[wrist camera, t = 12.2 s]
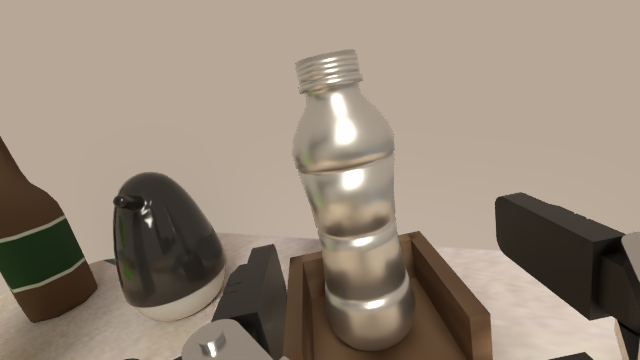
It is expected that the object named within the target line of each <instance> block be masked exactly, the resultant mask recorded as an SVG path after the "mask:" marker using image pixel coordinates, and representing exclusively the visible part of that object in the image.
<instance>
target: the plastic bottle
mask: <svg viewBox="0 0 640 360" xmlns="http://www.w3.org/2000/svg"><path fill="white" fill-rule="evenodd" d="M295 64H296V71H297V75H298V80H299V84H300V87H299V92H300V94H305V95H306V107H305V109H304V112H303V114H302V116H301V119H300V121H299V123H298V126H297V129H296V132H295V136H294V139H293V151H292V155H293V158H294V161H295V165H296V168H297V169H298V173H299V176H300V179H301V181H302V184H303V187H304V189H305V192H306V195H307V197H308V200H309V203H310V205H311V209H312V212H313V216H314V220H315V224H316V227H317V228H318V234H319V239H320V242H321V249H322V257H323V265H324V273H325V305H326V313H327V317H328V319H329V321H330V323H331V326H332V328H333V330H334V332H335V333H336V335H337V336H338V337H339V338H340V339H341V340H342V341H344V342H345V343H347V344H348V345H350V346H351V347H353V348H356V349H358V350H363V351H380V350H384V349H388V348H390V347H392V346H394V345H396V344H397V343H399V342H400V341H401V340H402V339H403V338H404V337H405V336H406V334H407V333H408V332H409V331H410V329H411V327H412V325H413V322H414V317H415V305H416V301H415V294H414V291H413V287H412V284H411V281H410V278H409V276H408V273H407V271H406V268H405V264H404V260H403V256H402V251H401V247H400V243H399V238H398V234H397V228H396V218H395V203H394V152H393V151H394V134H393V132H392V129H391V127H390V125H389V123H388V121H387V119H386V118H385V117H384V116H383V115H382V114H381V112H380V111H379V110H378V109H377V108H376V107H375V106H374V105H373V104H372V103H371V102H370V101H369V100H367V98H366V97H364V96H363V95H362V94H361V91H360V89H359V86H358V83H359V82H360V81H363V77H362V74H360V70H359V64H358V59H357V54H356V51H355V50H342V51H336V52H331V53H326V54H321V55H317V56H314V57H310V58H306V59H303V60H301V61H298V62H297V63H295Z"/></svg>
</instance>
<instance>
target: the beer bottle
mask: <svg viewBox="0 0 640 360" xmlns="http://www.w3.org/2000/svg"><path fill="white" fill-rule="evenodd" d="M0 272H1V274H2V276H3V278H4V279H5V281H6V283H7V285H8V286H9V288H10V290H11V292H12V294H13V295H14V297H15V299H16V301H17V302H18V304H19V305H20V307H21V308H22V310H23V311H24V313H25V314H26V316H27V317H28V318H29V320H30V321H31V322H33V323H35V322H39V321H43V320H47V319H51V318H54V317H58V316H60V315H62V314H64V313H65V312H67V311H69V310H71V309H73V308H75V307H76V306H78V305H80V304H82V303H84V302H85V301H86V300H87V299H88V298H89V297H90V296H91V295H92V294H93V292H94V291H95V290H96V289H97V284H96V282H95V279H94V276H93V274H92V272H91V270H90V268H89V265H88V263H87V261H86V259H85V257H84V255H83V253H82V250H81V248H80V246H79V244H78V242H77V240H76V238H75V236H74V234H73V231H72V229H71V227H70V225H69V223H68V221H67V219H66V217H65V215H64V213H63V211H62V209H61V208H60V206H59V204H58V203H57V202H56V201H55V200H54V199H53V198H52V197H51V196H50V195H49V194H48V193H47V192H45V191H44V190H42V189H40V188H38V187H37V186H35V185H33V184H31V183H30V182H29V181H28V180H27V179H26V177H25V176H24V175H23V173H22V172H21V171H20V169H19V167H18V166H17V164H16V162H15V161H14V159H13V157H12V156H11V154H10V152H9V150H8V149H7V147H6V145H5V144H4V142H3V141H2V139H1V137H0Z"/></svg>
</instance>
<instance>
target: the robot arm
mask: <svg viewBox="0 0 640 360" xmlns="http://www.w3.org/2000/svg"><path fill="white" fill-rule="evenodd" d="M495 216H496V237H497V242H498V245H499V247H500V249H501V251H502V252H503V253H504V254H505V255H506V256H507V257H508V258H510V259H511V260H512V261H514V262H515V263H516V264H517V265H519V266H520V267H521V268H523V269H524V270H525V271H526V272H528V273H529V274H530V275H532V276H533V277H534V278H535V279H537V280H538V281H539V282H541V283H542V284H543V285H544V286H546V287H547V288H548V289H550V290H551V291H552V292H553V293H555V294H556V295H557V296H559V297H560V298H561V299H562V300H564V301H565V302H566V303H568V304H569V305H570V306H571V307H573V308H574V309H575V310H577V311H578V312H579V313H580V314H582V315H583V316H584V317H586V318H587V319H588V320H589V321H590V320H595V319H599V318H604V317H609V316H613V317H614V318H615V328H614V329H615V334H616V338H617V341H618V345H619V348H620V352H621V355H622V359H623V360H640V232H634V233H629V234H624V233H621V232H619V231H617V230H614V229H612V228H610V227H607V226H605V225H603V224H600V223H598V222H595V221H593V220H591V219H586V217H584V216H581V215H578V214H574V212H572V211H569V210H567V209H565V208H562V207H560V206H556V205H552V204H548V203H545V202H543V201H541V200H539V199H536V198H534V197H532V196H529V195H527V194H525V193H515V194H510V195H505V196H501V197H498V198H497V199H496V201H495ZM286 307H287V291H286V285H285V281H284V277H283V273H282V270H281V266H280V262H279V259H278V255H277V251H276V248H275V246H274V244H271V245H266V246H262V247H257V248H253V249H252V251H251V254H250V257H249V260H248V263H247V264H243V265H239V266H238V268H237V269H236V270H235V271H234V272H233V273H232V274H231V275H230V277H229V279H228V282H227V284H226V287H225V289H224V292H223V296H222V297H221V299H220V301H219V304H218V306H217V309H216V311H215V314H214V316H213V319H212V321H211V323H209V324H207V325H205V326H203V327H202V328H200V329H199V330H197V331H196V332H195V333H194V334H193V335H192V336H191V337H190V338H189V339H188V340H187V342H186V343H185V345H184V347H183V349H182V356H180V357H178V358H176V359H174V360H289V359H288V358H287V357H285V356H283V345H284V332H285V319H286ZM125 360H139V359H134V358H133V359H125ZM550 360H593V359H592V358H591V357H590V356H589V355H588V354H587V353H585V352H583V353H578V354H573V355H569V356H564V357H559V358H554V359H550Z"/></svg>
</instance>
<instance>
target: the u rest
mask: <svg viewBox="0 0 640 360" xmlns="http://www.w3.org/2000/svg"><path fill="white" fill-rule="evenodd" d="M398 238H399V243H400V247H401V251H402V256H403V260H404V264H405V268H406V271H407V273H408V276H409V278H410V281H411V284H412V287H413V291H414V294H415V301H416V305H415V317H414V322H413V325H412V327H411V329H410V331H409V332H408V333H407V334H406V336H405V337H404V338H403V339H402V340H401V341H400V342H399V343H397V344H396V345H394V346H392V347H390V348H388V349H384V350H380V351H363V350H358V349H356V348H353V347H351V346H350V345H348V344H347V343H345V342H344V341H342V340H341V339H340V338H339V337H338V336H337V335H336V333H335V332H334V330H333V328H332V326H331V323H330V321H329V319H328V317H327V313H326V305H325V273H324V265H323V257H322V251H321V252H316V253H311V254H306V255H302V256H297V257H292V258H290V267H289V279H288V290H287V307H286V319H285V332H284V345H283V356H285V357H287V358H288V359H289V360H493V357H492V340H491V322H490V313H489V312H488V311H487V309H486V308H485V307H484V306H483V305H482V304H481V302H480V301H479V300H478V299H477V298H476V297H475V295H474V294H473V293H472V292H471V291H470V290H469V288H468V287H467V286H466V285H465V284H464V283H463V281H462V280H461V279H460V278H459V277H458V276H457V274H456V273H455V272H454V271H453V270H452V269H451V267H450V266H449V265H448V264H447V263H446V262H445V260H444V259H443V258H442V257H441V256H440V255H439V253H438V252H437V251H436V250H435V249H434V248H433V246H432V245H431V244H430V243H429V242H428V241H427V239H426V238H425V237H424V236H423V235H422V234H421V233H420V231H417V232H413V233H408V234H403V235H398Z"/></svg>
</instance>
